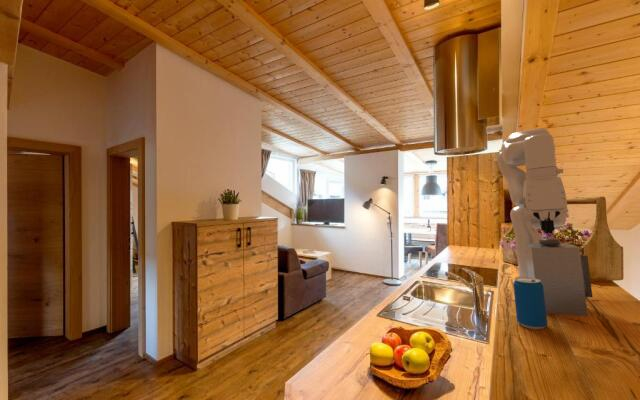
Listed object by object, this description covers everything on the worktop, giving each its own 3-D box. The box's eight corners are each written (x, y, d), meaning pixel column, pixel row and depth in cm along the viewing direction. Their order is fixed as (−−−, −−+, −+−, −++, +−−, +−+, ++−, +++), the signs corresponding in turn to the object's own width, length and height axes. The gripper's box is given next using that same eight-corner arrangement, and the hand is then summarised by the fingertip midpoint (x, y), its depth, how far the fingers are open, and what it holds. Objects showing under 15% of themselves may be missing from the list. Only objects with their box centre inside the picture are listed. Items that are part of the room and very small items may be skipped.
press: (530, 301, 92) (524, 243, 94) (585, 304, 86) (578, 242, 87) (538, 312, 83) (531, 247, 84) (601, 317, 76) (592, 247, 78)
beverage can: (553, 330, 70) (548, 282, 71) (524, 330, 72) (519, 282, 72) (539, 320, 77) (534, 276, 77) (512, 320, 78) (508, 277, 79)
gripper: (568, 172, 88) (575, 231, 87) (511, 178, 94) (516, 232, 94) (576, 170, 81) (584, 233, 80) (514, 176, 88) (520, 235, 87)
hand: (548, 233), depth 87 cm, fingers closed
